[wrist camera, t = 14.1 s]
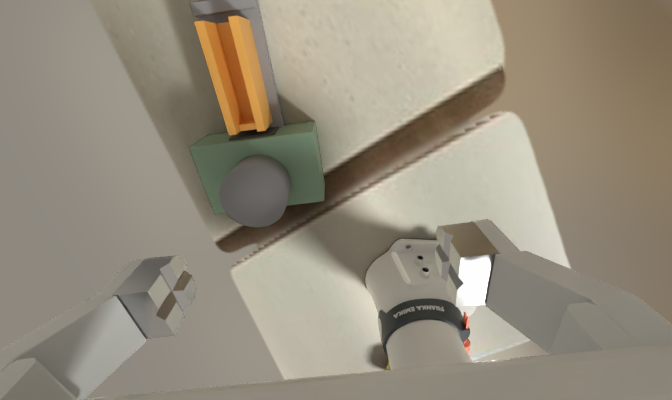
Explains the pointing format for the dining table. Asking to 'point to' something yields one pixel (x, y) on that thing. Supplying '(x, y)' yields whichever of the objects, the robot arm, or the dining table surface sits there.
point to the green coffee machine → (257, 145)
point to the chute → (235, 73)
